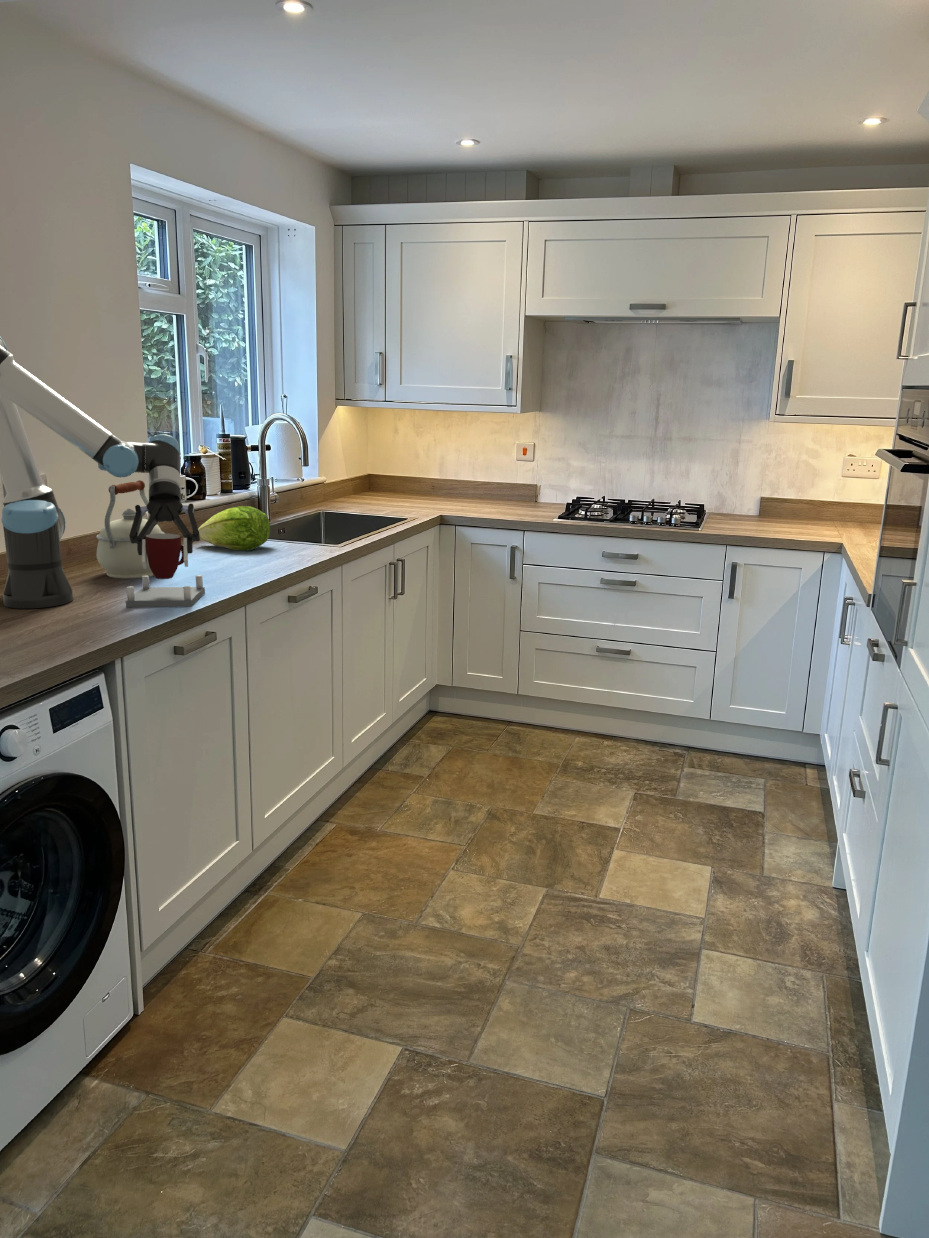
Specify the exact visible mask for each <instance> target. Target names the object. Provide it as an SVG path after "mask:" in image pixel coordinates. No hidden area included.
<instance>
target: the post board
mask: <svg viewBox="0 0 929 1238" xmlns="http://www.w3.org/2000/svg"><path fill="white" fill-rule="evenodd" d="M141 579H142V580H141V582H142V583H141V584H142V588H140V589H139V590H138V591H136V592H135V586H127V587H126V596H127V598H126V600H125V607H126V608H157V607H158V608H161V607H162V608H165V607H166V608H168V607H169V608H171V607H174V608H175V607H176V608H177V607H183V608H184V607H192V606H194V605H195V603H197V601H199V600H200V598H202V596H204V595H205V594H206V590H205V589H206V588H205V586H204V583H203V582H204V581H203V575H195V586H191V585H184V586H176V587H175V586H169V587H167V586H166V587H165V586H164V587H163V586H160V587H159V586H157V587H156V586H155V587H153V586H152V587H151V586H150V577H149V576H142V578H141Z"/></svg>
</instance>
